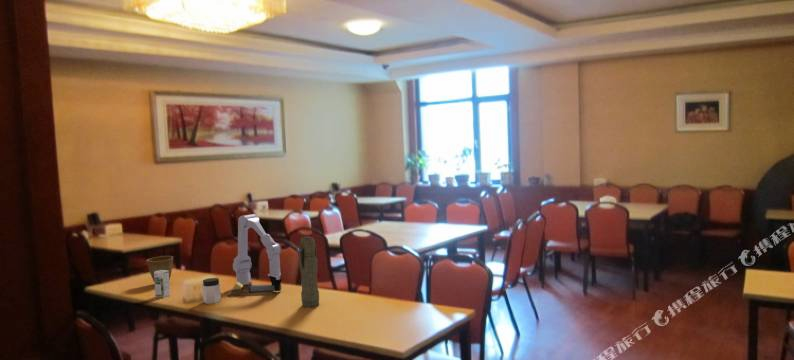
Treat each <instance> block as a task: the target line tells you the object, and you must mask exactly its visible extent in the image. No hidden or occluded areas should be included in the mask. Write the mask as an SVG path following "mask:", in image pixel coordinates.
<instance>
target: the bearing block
mask: <svg viewBox="0 0 794 360" xmlns="http://www.w3.org/2000/svg"><path fill="white" fill-rule="evenodd" d="M252 283H253V282H252V281H249V282H245V283H244V284H243V288H242V289H241V290H232V289H231V290H230V292H229V293H228V294H226V297H248V296H249V295H253V296H271V295H272V294H274V292H275V291H260V292H249V285H253V284H252ZM249 297H250V296H249Z"/></svg>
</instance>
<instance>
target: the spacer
mask: <svg viewBox="0 0 794 360" xmlns="http://www.w3.org/2000/svg"><path fill="white" fill-rule="evenodd" d="M242 288H243V285H242V284H241V283H239V282H237V281H236V283H235V284H234V285H233V287H232V288H231V290H241V289H242Z"/></svg>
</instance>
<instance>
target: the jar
mask: <svg viewBox="0 0 794 360" xmlns="http://www.w3.org/2000/svg"><path fill="white" fill-rule="evenodd" d="M221 297H222V296H221V284H220V278H218V277H210V278H205V279H203V280H202V300H203V303H205V304H206V305H211V304H214V305H215V304H218V303H220V302H221V301H222V298H221Z"/></svg>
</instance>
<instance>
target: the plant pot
mask: <svg viewBox="0 0 794 360" xmlns="http://www.w3.org/2000/svg"><path fill="white" fill-rule="evenodd" d="M146 263H147V267H148V271H149V274H150V276H151V278H152V280H153V283H154V284H155V281H154V272H155V271H158V270H166V271H168V270H169V281H170V279H171V277H172V272H173V263H174V256H172V255H160V256H156V257H155V256H154V257H151V258H148V259H146Z"/></svg>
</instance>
